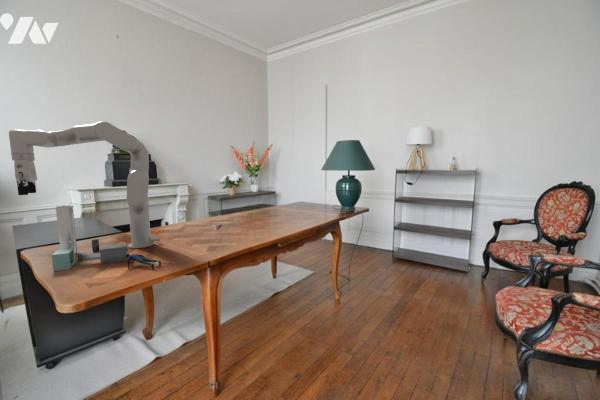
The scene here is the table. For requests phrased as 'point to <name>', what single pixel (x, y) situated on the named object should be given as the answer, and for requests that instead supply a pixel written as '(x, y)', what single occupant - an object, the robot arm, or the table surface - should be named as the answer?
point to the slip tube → (91, 253)
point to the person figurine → (142, 260)
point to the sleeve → (113, 253)
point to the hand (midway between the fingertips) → (27, 193)
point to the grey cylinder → (66, 227)
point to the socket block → (63, 259)
